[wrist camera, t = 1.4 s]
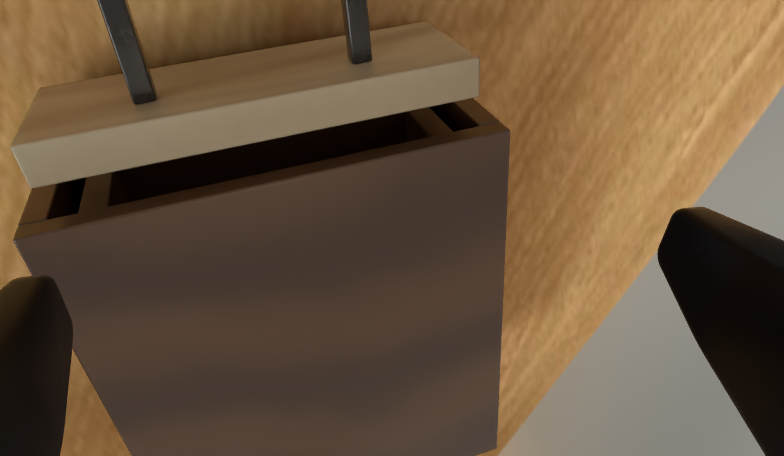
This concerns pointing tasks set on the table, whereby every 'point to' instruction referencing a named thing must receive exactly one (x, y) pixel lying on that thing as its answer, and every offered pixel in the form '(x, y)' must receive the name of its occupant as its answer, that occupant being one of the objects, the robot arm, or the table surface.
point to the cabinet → (296, 301)
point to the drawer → (239, 109)
